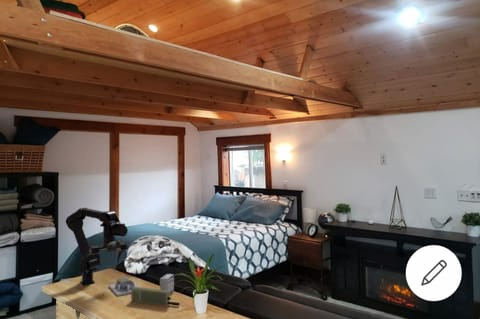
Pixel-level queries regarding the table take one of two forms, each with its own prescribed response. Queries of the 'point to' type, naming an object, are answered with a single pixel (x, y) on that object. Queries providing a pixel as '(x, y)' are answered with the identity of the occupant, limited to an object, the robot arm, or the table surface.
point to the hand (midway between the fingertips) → (108, 263)
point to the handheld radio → (151, 296)
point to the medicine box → (167, 283)
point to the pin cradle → (119, 291)
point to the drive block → (124, 283)
